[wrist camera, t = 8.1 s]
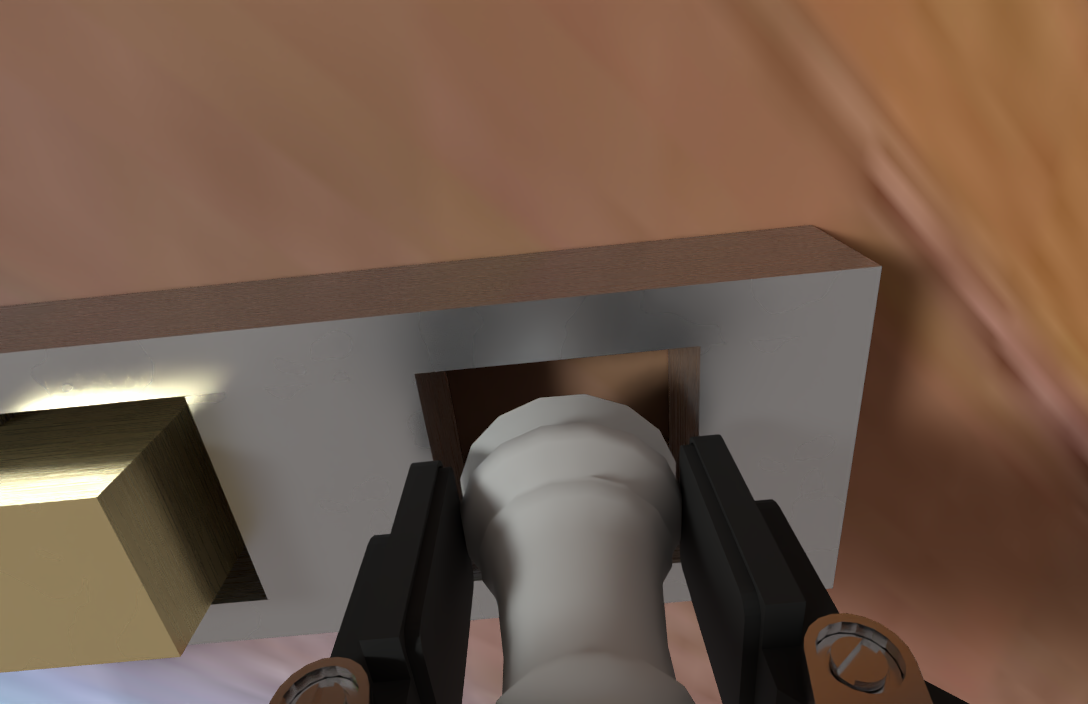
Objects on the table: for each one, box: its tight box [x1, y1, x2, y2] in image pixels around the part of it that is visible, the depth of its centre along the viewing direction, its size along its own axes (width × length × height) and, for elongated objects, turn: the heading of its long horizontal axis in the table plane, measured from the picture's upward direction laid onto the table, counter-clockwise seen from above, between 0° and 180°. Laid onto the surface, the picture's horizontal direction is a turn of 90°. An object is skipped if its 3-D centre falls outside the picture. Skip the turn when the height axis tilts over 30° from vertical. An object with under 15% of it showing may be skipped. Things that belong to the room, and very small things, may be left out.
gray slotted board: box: [0, 225, 882, 645], centre depth 14 cm, size 8×22×3 cm, turn 96°
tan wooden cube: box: [0, 396, 245, 673], centre depth 13 cm, size 4×4×5 cm
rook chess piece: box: [460, 394, 695, 704], centre depth 9 cm, size 4×4×8 cm
